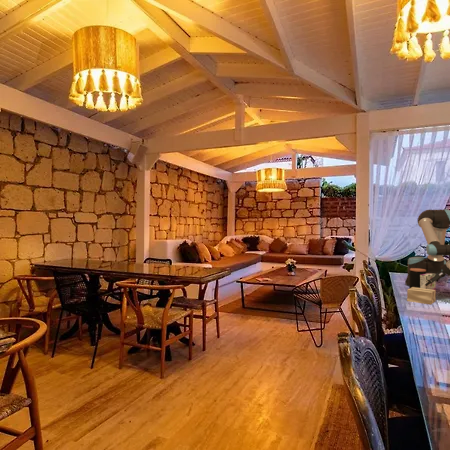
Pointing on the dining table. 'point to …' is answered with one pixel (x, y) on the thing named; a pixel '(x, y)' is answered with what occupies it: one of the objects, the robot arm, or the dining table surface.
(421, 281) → the candy bar box
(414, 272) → the coffee jar
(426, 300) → the ash block
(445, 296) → the dining table surface
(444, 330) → the dining table surface
